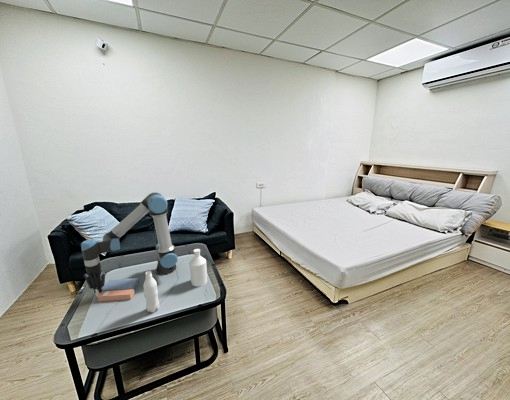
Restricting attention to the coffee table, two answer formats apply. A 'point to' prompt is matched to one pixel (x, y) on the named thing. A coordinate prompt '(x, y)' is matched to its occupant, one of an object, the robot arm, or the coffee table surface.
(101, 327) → the coffee table surface
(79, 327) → the coffee table surface
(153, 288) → the water bottle
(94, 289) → the robot arm
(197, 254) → the bottle
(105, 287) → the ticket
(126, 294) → the orange rectangular block
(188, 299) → the coffee table surface
